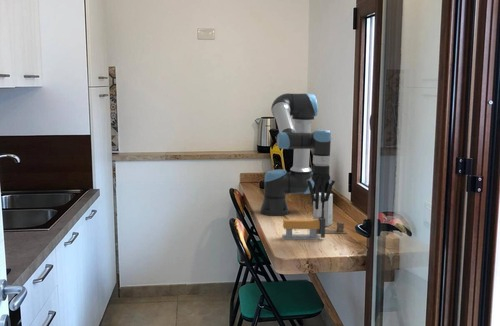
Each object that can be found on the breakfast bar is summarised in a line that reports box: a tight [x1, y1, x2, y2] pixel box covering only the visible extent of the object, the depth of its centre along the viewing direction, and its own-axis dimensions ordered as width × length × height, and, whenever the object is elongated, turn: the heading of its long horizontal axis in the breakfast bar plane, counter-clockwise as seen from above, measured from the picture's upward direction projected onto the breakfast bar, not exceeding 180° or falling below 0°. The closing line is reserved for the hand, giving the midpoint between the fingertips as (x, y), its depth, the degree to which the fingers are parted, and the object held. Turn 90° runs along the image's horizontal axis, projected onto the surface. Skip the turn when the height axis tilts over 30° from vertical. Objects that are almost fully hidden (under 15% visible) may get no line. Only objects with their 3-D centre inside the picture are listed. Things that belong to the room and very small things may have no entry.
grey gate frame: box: [317, 209, 326, 239], centre depth 234 cm, size 7×2×12 cm, turn 4°
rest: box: [316, 221, 348, 235], centre depth 244 cm, size 6×16×4 cm, turn 94°
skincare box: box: [312, 192, 334, 227], centre depth 257 cm, size 8×7×16 cm
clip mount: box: [282, 229, 321, 241], centre depth 234 cm, size 6×16×4 cm, turn 94°
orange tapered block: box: [282, 218, 320, 230], centre depth 233 cm, size 4×16×4 cm, turn 95°
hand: (319, 216), depth 233 cm, fingers closed
